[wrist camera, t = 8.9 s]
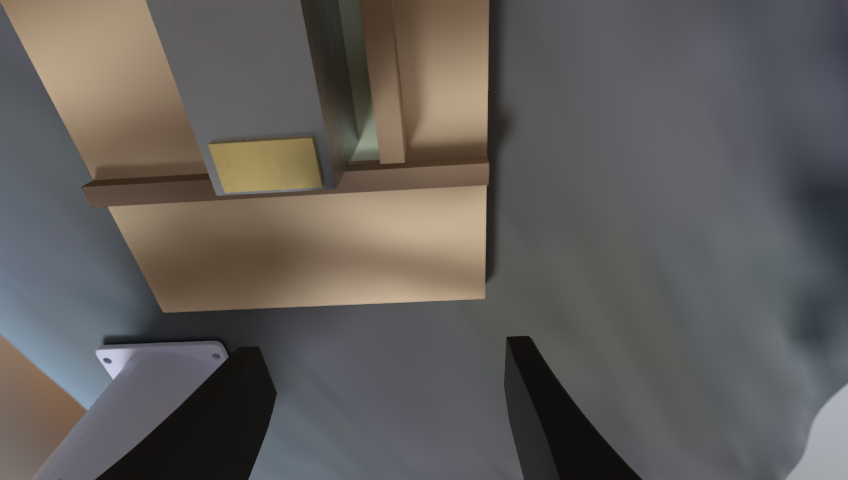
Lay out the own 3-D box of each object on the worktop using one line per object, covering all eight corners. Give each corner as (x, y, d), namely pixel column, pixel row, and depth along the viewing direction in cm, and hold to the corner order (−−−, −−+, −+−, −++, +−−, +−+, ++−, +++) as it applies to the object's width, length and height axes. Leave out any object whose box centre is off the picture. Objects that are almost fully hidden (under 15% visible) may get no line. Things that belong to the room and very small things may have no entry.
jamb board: (482, 287, 23) (488, 317, 21) (172, 301, 24) (147, 331, 21) (487, -142, 13) (498, -168, 11) (-24, -94, 14) (-105, -111, 12)
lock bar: (210, -68, 14) (105, -99, 9) (326, -79, 14) (276, -115, 9) (268, 147, 18) (214, 197, 13) (359, 141, 17) (335, 190, 13)
